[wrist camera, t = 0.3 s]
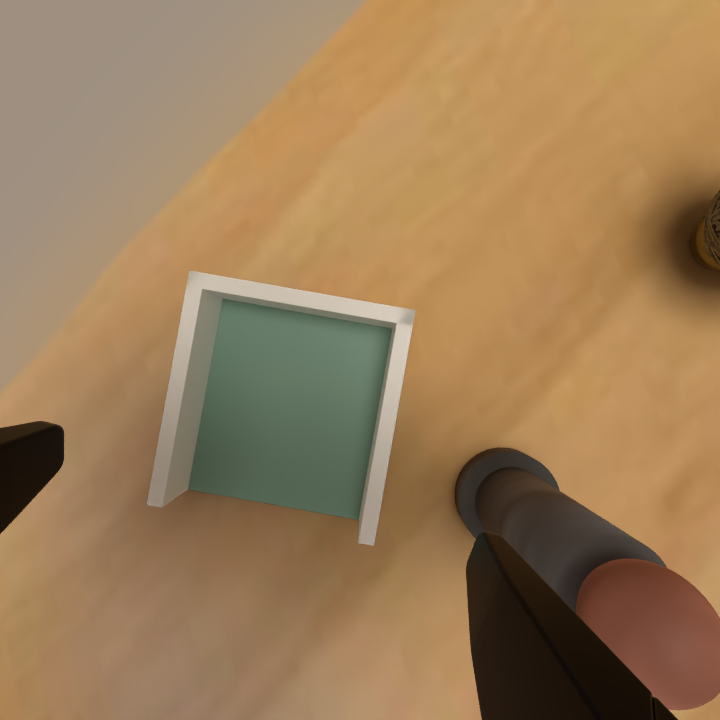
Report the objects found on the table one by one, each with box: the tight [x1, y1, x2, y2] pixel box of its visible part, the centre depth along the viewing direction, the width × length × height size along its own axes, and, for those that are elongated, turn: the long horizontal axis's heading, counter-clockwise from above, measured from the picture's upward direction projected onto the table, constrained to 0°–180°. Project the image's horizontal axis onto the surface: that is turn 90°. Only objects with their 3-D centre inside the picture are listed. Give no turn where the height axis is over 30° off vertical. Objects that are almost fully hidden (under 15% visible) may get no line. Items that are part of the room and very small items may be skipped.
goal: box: [147, 271, 415, 546], centre depth 22 cm, size 12×12×4 cm
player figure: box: [455, 448, 720, 710], centre depth 17 cm, size 6×6×14 cm
